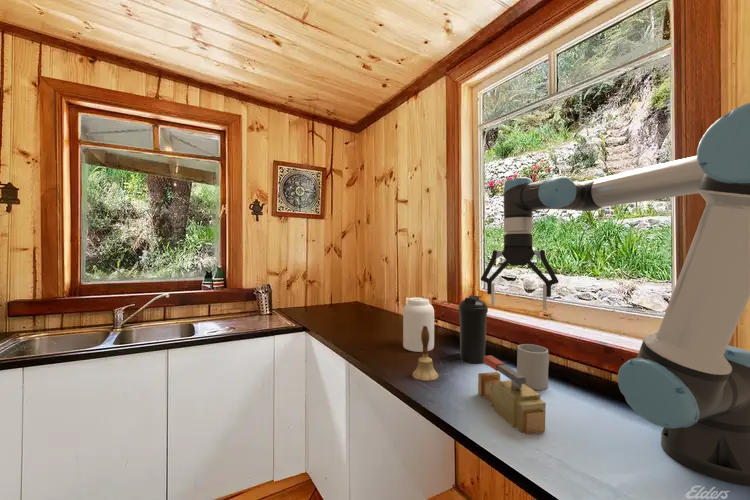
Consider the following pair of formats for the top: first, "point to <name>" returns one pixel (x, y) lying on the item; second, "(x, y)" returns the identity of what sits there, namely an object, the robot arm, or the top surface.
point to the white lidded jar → (417, 323)
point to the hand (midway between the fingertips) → (518, 307)
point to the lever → (506, 372)
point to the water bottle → (473, 329)
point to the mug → (533, 365)
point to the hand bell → (425, 361)
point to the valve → (513, 403)
